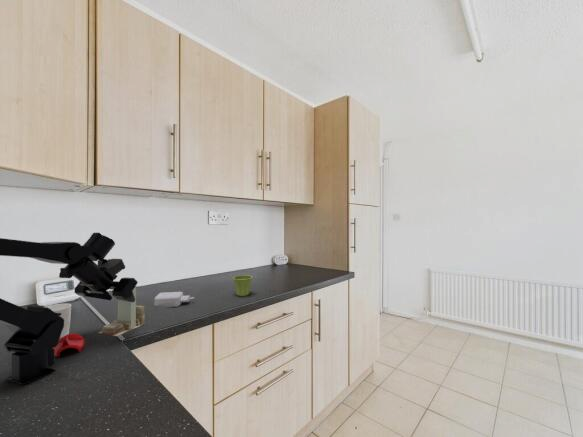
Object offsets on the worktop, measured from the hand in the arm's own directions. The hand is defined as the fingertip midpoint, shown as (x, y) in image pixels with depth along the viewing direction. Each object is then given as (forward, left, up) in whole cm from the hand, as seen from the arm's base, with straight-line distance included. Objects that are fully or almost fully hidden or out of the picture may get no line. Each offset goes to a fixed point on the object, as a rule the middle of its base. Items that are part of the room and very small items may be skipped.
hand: (122, 300), depth 87 cm
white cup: (-11, +15, -11) cm, 21 cm away
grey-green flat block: (+2, 0, -9) cm, 9 cm away
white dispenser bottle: (+29, +4, -11) cm, 31 cm away
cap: (-16, 0, -11) cm, 19 cm away
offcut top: (-3, 0, -8) cm, 9 cm away
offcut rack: (0, 0, -10) cm, 10 cm away
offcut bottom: (-3, 0, -9) cm, 10 cm away
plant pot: (+51, -16, -11) cm, 55 cm away
